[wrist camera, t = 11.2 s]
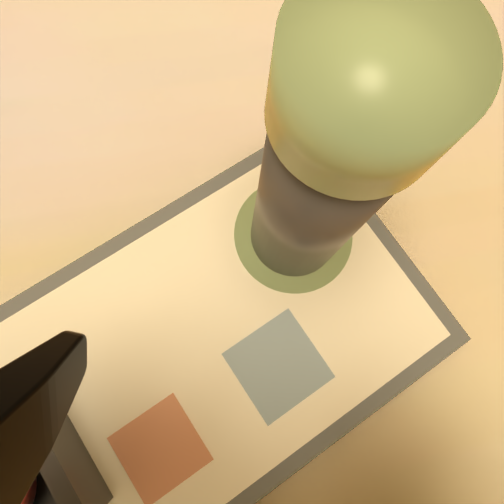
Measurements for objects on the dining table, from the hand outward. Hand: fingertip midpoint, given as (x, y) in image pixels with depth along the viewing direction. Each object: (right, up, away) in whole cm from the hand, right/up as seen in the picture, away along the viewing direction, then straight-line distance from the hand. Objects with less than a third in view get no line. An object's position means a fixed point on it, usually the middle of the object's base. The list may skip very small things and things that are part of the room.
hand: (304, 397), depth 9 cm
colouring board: (-4, -2, +11) cm, 12 cm away
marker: (+1, +4, +12) cm, 13 cm away
